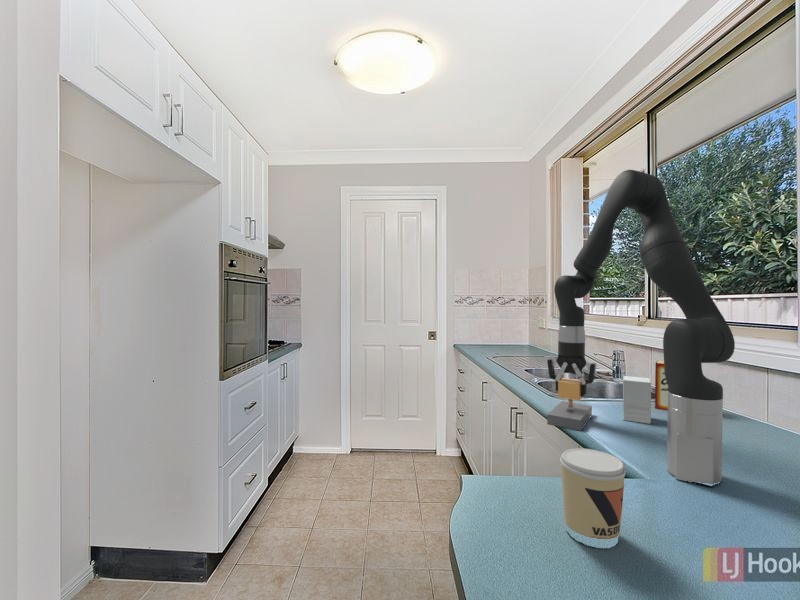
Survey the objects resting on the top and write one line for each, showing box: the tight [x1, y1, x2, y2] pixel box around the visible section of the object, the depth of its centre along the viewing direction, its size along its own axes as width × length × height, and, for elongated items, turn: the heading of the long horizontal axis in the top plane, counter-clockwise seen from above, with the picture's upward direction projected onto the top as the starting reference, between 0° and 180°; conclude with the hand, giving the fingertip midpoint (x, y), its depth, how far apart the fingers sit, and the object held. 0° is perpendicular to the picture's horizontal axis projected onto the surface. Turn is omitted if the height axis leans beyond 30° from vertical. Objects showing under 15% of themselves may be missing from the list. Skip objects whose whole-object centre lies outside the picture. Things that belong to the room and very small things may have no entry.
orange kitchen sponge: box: [557, 377, 583, 402], centre depth 118 cm, size 6×6×5 cm
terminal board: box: [546, 399, 593, 432], centre depth 118 cm, size 18×9×6 cm, turn 144°
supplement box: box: [622, 375, 652, 425], centre depth 119 cm, size 7×7×13 cm
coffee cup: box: [559, 447, 627, 539], centre depth 61 cm, size 9×9×12 cm
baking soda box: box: [654, 359, 668, 412], centre depth 130 cm, size 10×6×16 cm
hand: (570, 394), depth 118 cm, fingers closed on orange kitchen sponge, 6 cm apart
